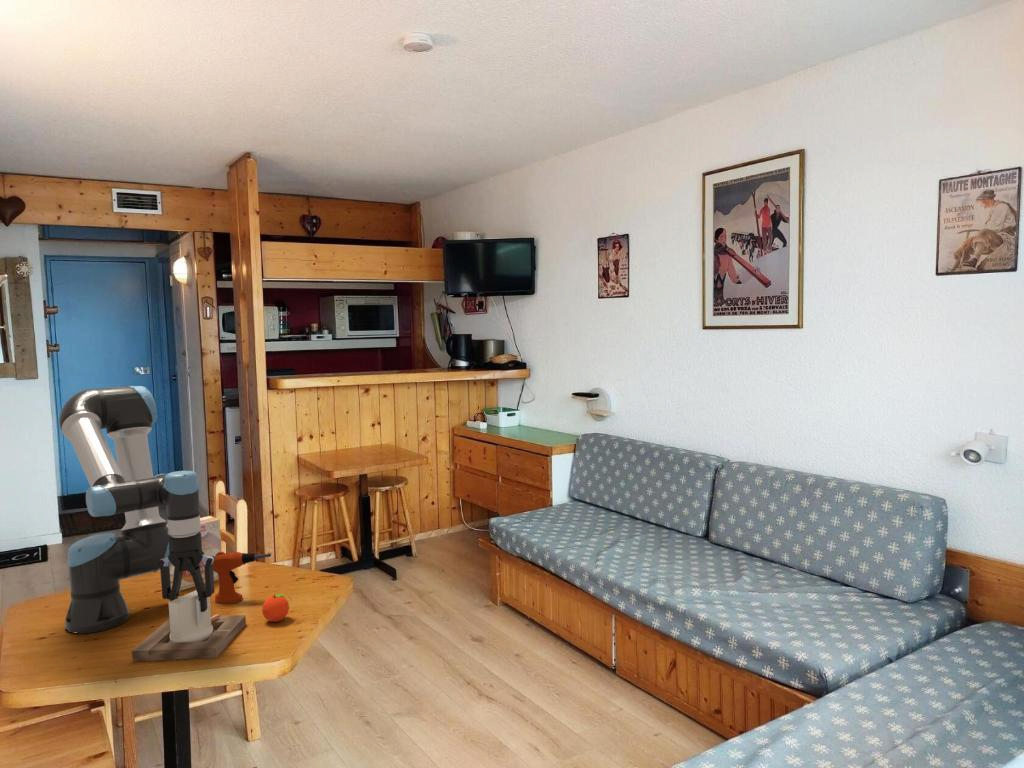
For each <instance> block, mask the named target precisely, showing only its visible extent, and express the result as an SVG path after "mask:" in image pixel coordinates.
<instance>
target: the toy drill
mask: <svg viewBox="0 0 1024 768" xmlns="http://www.w3.org/2000/svg"><path fill="white" fill-rule="evenodd" d="M271 556H272V554H271V553H270V552H269V553H264V554H262V553H261V554H256V553H252V552H251V553H249V552H247V553H245V552H240V551H234V552H224V551H221V552H218V553H217V554H216V555H215V556H214V557H215V560H214V563H213V570H214V571H215V572H216V573H218V577H219V579H218V582H219V583H218V584H219V585H218V587H219V588H218V592H217V593H216V594H215V596H214V602H215V603H217V604H235V602H236V603H239V602H241V601H242V600H243V594H241V593H239V592H237V591H236V590H235V584H236V583H237V582H238V581H239V577H237V576H236V573H235V571H233V570H235V569H237V568H239V567H242V566H245V565H246V564H249V563H254V562H255V561H256V559H257V560H259V559H263V558H269V557H271ZM241 599H242V600H241ZM240 600H241V601H240ZM238 601H239V602H238Z"/></svg>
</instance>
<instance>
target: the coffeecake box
mask: <svg viewBox="0 0 1024 768" xmlns="http://www.w3.org/2000/svg"><path fill="white" fill-rule="evenodd" d="M220 521H221V520H220V518H218V517H215V516H212V515H207V516H203V517H200V524H201V530H200V531H199V532H200V533H201V539H202V551H203V552H204V555H206V556H210V557H211V556H215V555H216V554H217V553H218V552H222V541H221V539H222V538H221V535H222V534H221V522H220ZM167 527H168V524H167ZM199 565H200V569H201V570H200V572H201V575H202V578H203V581H204V584H205V565H204V562H203V560H202V561H201V562H200V564H199ZM169 568H170V581H171V589H172V584H173V578H174V569H175V567H174V566H173V565H171V566H170V567H169ZM213 573H214V582H215V581H219V577H218V573H216V572H215V571H214V570H213ZM194 587H195V584H194V581H193V578H192V575H191V574H190V571H186V570H185V571H184V572H183V575H182V581H181V586H180V591H184V590H188V589H191V588H194ZM195 588H196V587H195Z"/></svg>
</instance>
